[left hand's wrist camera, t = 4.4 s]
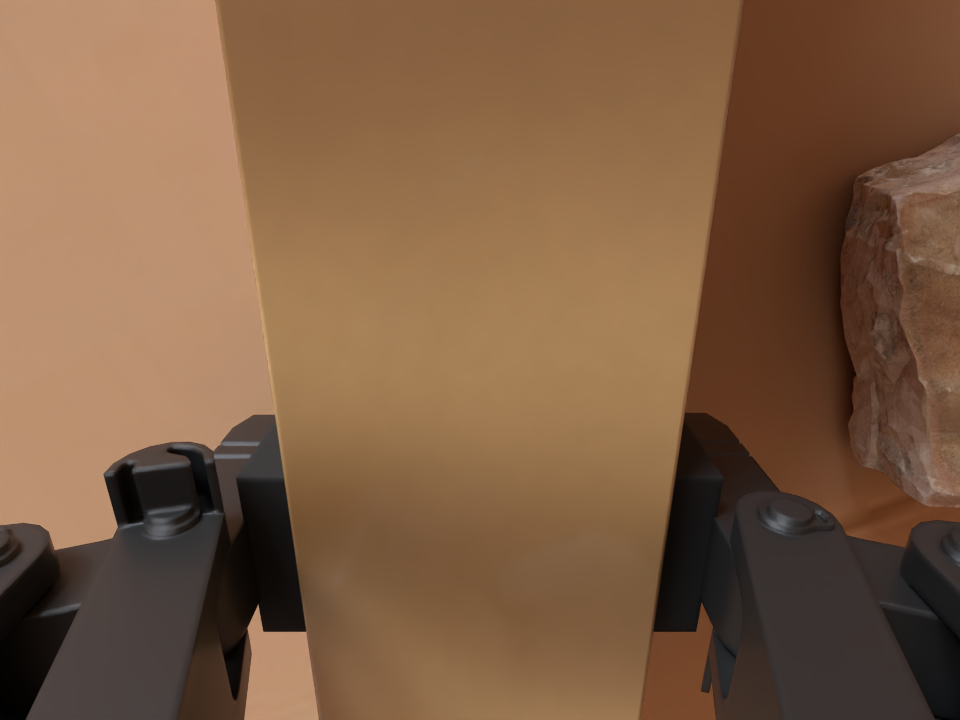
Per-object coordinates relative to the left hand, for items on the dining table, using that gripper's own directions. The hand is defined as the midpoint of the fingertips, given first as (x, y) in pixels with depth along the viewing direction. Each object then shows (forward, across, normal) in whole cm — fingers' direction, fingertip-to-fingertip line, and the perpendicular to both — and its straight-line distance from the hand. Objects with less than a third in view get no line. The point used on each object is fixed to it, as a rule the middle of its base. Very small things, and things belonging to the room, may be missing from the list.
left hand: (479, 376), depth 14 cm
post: (0, 0, -20) cm, 20 cm away
